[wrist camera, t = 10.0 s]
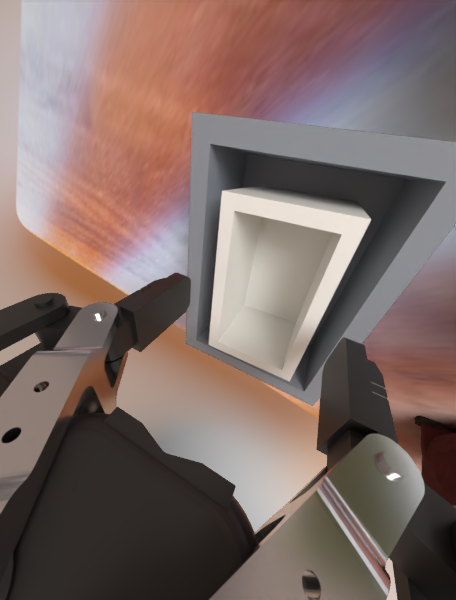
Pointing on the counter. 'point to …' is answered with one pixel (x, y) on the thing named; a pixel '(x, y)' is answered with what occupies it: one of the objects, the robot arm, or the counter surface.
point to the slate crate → (329, 183)
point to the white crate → (278, 271)
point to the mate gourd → (438, 457)
